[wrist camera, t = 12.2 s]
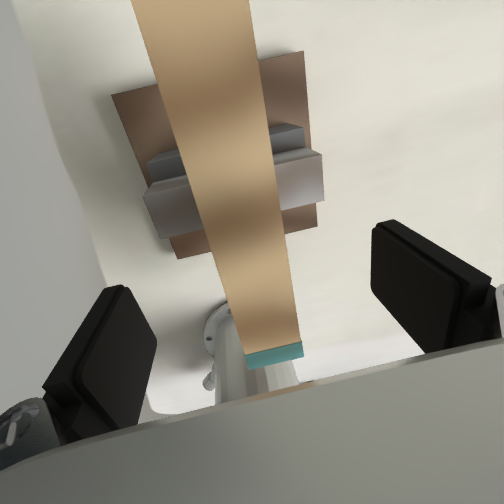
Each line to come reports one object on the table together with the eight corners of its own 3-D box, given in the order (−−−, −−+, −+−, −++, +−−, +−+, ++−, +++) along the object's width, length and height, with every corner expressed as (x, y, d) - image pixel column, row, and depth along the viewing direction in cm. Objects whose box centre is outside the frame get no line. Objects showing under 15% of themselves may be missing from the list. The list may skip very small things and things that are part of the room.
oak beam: (287, 309, 24) (304, 356, 19) (242, 320, 24) (249, 370, 19) (227, -31, 13) (234, -104, 8) (143, -12, 13) (104, -75, 8)
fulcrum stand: (313, 221, 31) (351, 267, 22) (179, 252, 31) (165, 311, 22) (298, 53, 23) (350, 22, 14) (116, 95, 23) (56, 89, 14)
